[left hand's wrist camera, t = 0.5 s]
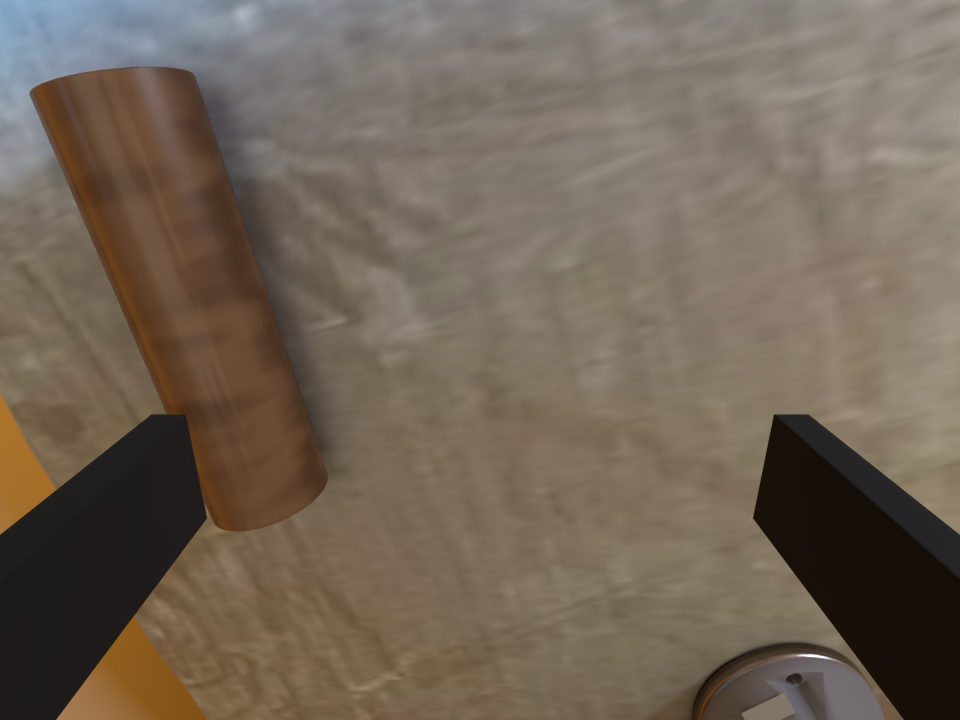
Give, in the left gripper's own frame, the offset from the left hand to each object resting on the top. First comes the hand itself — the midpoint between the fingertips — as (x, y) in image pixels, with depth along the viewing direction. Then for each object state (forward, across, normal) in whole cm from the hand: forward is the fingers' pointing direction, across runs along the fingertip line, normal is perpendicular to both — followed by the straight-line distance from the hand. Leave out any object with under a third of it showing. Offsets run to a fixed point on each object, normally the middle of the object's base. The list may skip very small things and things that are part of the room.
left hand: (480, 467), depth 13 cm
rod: (+25, -16, -2) cm, 30 cm away
